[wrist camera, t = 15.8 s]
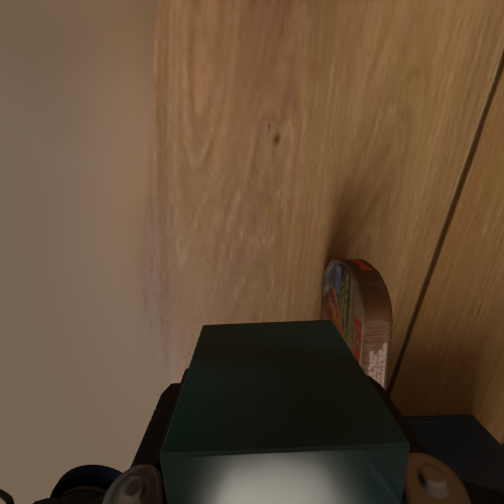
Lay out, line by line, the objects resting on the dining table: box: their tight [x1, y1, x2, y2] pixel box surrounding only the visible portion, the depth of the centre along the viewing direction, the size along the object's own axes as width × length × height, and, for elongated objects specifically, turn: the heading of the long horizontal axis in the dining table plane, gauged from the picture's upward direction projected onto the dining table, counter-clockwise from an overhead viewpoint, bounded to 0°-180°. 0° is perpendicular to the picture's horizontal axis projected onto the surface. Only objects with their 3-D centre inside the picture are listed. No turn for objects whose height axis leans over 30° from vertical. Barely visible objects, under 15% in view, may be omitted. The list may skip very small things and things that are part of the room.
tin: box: [321, 258, 393, 391], centre depth 23 cm, size 15×3×8 cm, turn 2°
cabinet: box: [403, 415, 504, 492], centre depth 28 cm, size 15×13×10 cm
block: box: [160, 320, 410, 504], centre depth 8 cm, size 5×5×5 cm
